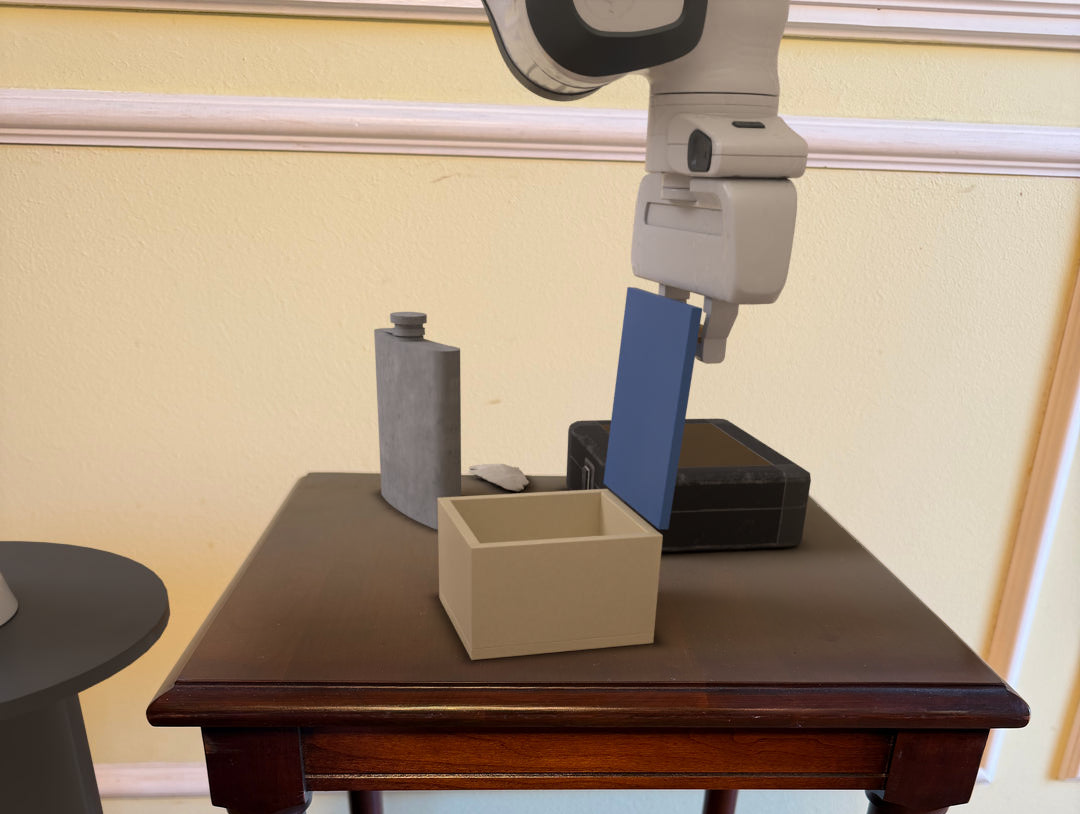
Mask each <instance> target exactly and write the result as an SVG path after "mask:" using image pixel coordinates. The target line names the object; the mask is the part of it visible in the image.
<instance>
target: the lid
mask: <svg viewBox="0 0 1080 814" xmlns="http://www.w3.org/2000/svg"><path fill="white" fill-rule="evenodd" d="M624 306H625V307H624V313H623V320H622V321H623V322H622V330H621V335H620V336H621V337H620V345H619V346H620V347H619V354H618V361H617V369H616V370H617V371H616V378H615V386H614V395H613V403H612V412H611V419H610V420H611V426H610V434H609V442H608V451H607V459H606V467H605V475H604V484H605V485H606V486H608V487H609V488H610V489H611V490H612V491H614V492H615V493H616V494H617V495H618V496H620V497H621V498H622V499H623V500H624V501H626V502H627V503H628V504H629V505H630V506H632V507H633V508H634V509H635V510H636V511H638V512H639V513H640V514H641V515H642V516H644V517H645V518H646V519H647V520H648V521H649V522H651V523H652V524H653V525H654V526H655V527H657V528H658V529H668V527H669V521H670V515H671V508H672V502H673V495H674V489H675V482H676V476H677V469H678V463H679V457H680V450H681V444H682V437H683V431H684V424H685V419H687V418H686V417H687V411H688V406H689V405H688V404H689V398H690V397H689V396H690V391H691V386H692V378H693V372H694V365H695V359H696V358H695V353H696V347H697V341H698V335H701V332H702V329H703V325H704V324H702V323H701V319H702V314H703V307H701V306H700V307H699V306H696V305H693V304H690V303H688V302H687V303H684V302H680V301H677V300H674V299H671V298H668V297H664V296H661V295H658V293H654V292H652V291H648V290H645V289H642V288H639V287H633V286H627V289H626V297H625V305H624Z"/></svg>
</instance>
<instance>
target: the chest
mask: <svg viewBox="0 0 1080 814" xmlns="http://www.w3.org/2000/svg"><path fill="white" fill-rule="evenodd" d="M437 537H438V538H437V542H438V543H437V544H438V547H437V548H438V589H439V591H438V592H439V593H438V595H439V596H438V597H439V599H440V602H441V604H442V606H443V608H444V610H445V612H446V614H447V616H448V617H449V619H450V622H451V623H452V625H453V627H454V629H455V631H456V633H457V635H458V637H459V639H460V641H461V643H462V645H463V646H464V648H465V650H466V653H467V654H468V656H469V658H470V660H471V661H476V660H486V659H499V658H508V657H510V658H511V657H521V656H530V655H531V656H532V655H540V654H550V653H551V654H552V653H562V652H563V653H564V652H572V651H582V650H593V649H605V648H615V647H626V646H636V645H637V646H638V645H647V644H654V640H655V639H654V637H655V625H656V615H657V605H658V604H657V603H658V594H659V593H658V592H659V582H660V572H661V571H660V570H661V559H662V553H661V549H662V538H663V535H661V534H660V533H659V532H658V531H656V530H655V529H654V528H653V527H652V526H650V525H649V524H648V523H647V522H646V521H644V520H643V519H642V518H641V517H640V516H639V515H637V514H636V513H635V512H634V511H633V510H631V509H630V508H629V507H628V506H627V505H625V504H624V503H623V502H622V501H621V500H620V499H618V498H617V497H616V496H615V495H614V494H612V493H611V492H610V491H609V490H608V489H594V490H575V491H570V490H559V491H538V492H520V493H519V492H517V493H504V494H503V493H501V494H480V495H465V496H463V495H461V497H442V498H438V530H437Z"/></svg>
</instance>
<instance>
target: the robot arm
mask: <svg viewBox="0 0 1080 814" xmlns="http://www.w3.org/2000/svg"><path fill="white" fill-rule="evenodd" d="M480 2H481V4H482V6H483V8H484V11H485V15H486V16H487V19H488V22H489V26H490V29H491V31H492V34H493V38H494V41H495V44H496V46H497V49H498V51H499V53H500V56H501V58H502V60H503V62H504V64H505V65H506V67H507V69H508V70H509V72H510V73H511V74H512V76H513V77H514V78H515V79H516V81H517V82H518V83H520V84H521V85H522V86H523V87H524V89H526V90H528V91H530V92H531V93H532V94H534V95H536V96H538V97H540V98H543V99H545V100H549V101H553V102H562V103H563V102H564V103H565V102H573V101H580V100H582V99H585V98H588V97H590V96H591V95H593V94H595V93H596V92H598V91H600V90H601V89H602V88H604V87H605V86H609V85H610V84H612V83H615V82H617V81H619V80H621V79H623V78H625V77H627V76H629V75H630V76H631V75H633V76H634V75H635V76H642V77H644V78H645V79H646V80H647V83H648V87H649V90H648V105H647V106H648V108H647V123H646V124H647V125H646V140H645V141H646V142H645V157H644V172H645V173H647V174H645V175H644V176H643V177H642V178H641V181H640V182H639V186H638V188H637V189H638V190H637V194H636V201H635V209H634V215H633V216H634V217H633V224H632V235H631V247H630V265H631V270H632V274H633V276H635V277H636V278H639V279H643V280H646V281H650V282H654V283H657V284H658V291H657V292H658V293H657V294H658V295H661V296H664V297H668V298H671V299H674V300H677V301H680V302H684V303H687V304H688V301H687V300H690V298H691V293H693V294H696V295H699V296H703V307H702V313H705V317H704V320H703V321H704V322H703V324H702V325H703V329H702V332H701V335H698V341H697V347H696V353H695V359H696V360H697V361H699V362H701V363H704V364H706V365H708V364H709V365H712V364H716V365H717V364H722V363H723V362H724V361H725V358H726V351H727V350H726V349H727V341H728V338H729V336H730V334H731V332H732V329H733V328H734V327H733V326H734V324H735V322H736V321H737V317H738V315H739V307H740V305H748V306H750V305H751V306H753V305H754V306H755V305H770V304H775V303H776V302H777V300H778V299H779V297H780V295H781V293H782V291H783V290H784V288H785V286H786V284H787V283H786V282H787V279H788V275H789V269H790V263H791V258H792V252H793V245H794V239H795V229H796V221H797V213H798V193H797V192H798V191H797V188H796V185H795V184H794V182H793V181H792V180H791V179H800V178H801V177H803V176H804V174H805V172H806V170H807V169H806V168H807V163H808V156H809V146H808V141H806V139H805V138H804V137H803V136H801V135H800V134H798V132H796V131H795V130H793V128H791V127H790V126H789V124H787V123H786V121H785V120H784V118H783V117H781V116H779V105H780V97H781V85H780V77H779V70H778V68H779V67H778V63H779V62H778V61H779V60H778V59H779V50H780V46H781V42H782V38H783V36H784V34H785V31H786V27H787V25H788V20H789V15H790V4H791V0H480ZM17 608H18V601H17V599H16V598H15V596H14V595H13V593H12V591H11V590H10V588H9V586H8V585H7V583H6V581H5V579H4V578H3V576H2V574H1V572H0V626H1V625H2V624H4V623H5V622H7V621H8V620H9V619H10V618H11V617H12V616H13V615H14V614H15V612H16V611H17Z"/></svg>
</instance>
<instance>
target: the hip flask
mask: <svg viewBox="0 0 1080 814" xmlns="http://www.w3.org/2000/svg"><path fill="white" fill-rule="evenodd" d="M427 318H428V315H427V313H425V312H417V311H394V312H390V313H389V319H390V320H389V321H390V323H392V324H394V327H380V328H375V329H374V330H373V335H374V337H373V338H374V355H375V356H374V357H375V358H374V359H375V377H376V378H375V381H376V402H377V424H378V444H379V446H378V447H379V448H378V449H379V469H380V470H379V471H380V489H381V490H380V492H381V496H382V498H383V499H384V500H385V501H386V502H387V503H388V504H389V505H391V506H392V507H393V508H394V509H396V511H398V512H400V513H402V514H403V515H405V516H406V517H408V518H410V519H411V520H413V521H416V522H418V523H420V524H421V525H423V526H426V527H429V528H431V529H433V530H436V531H438V498H442V497H461V496H462V417H461V416H462V409H461V407H462V404H461V403H462V402H461V401H462V399H461V397H462V395H461V384H462V383H461V348H460V347H457V346H454V345H448V344H444V343H440V342H437V341H434V340H433V341H432V340H430V339H426V338H424V337H425V335H426V328H425V327H424V325H425V324H427V323H428V319H427Z"/></svg>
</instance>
